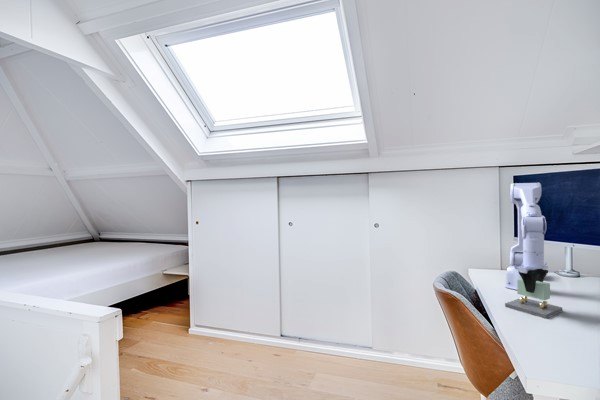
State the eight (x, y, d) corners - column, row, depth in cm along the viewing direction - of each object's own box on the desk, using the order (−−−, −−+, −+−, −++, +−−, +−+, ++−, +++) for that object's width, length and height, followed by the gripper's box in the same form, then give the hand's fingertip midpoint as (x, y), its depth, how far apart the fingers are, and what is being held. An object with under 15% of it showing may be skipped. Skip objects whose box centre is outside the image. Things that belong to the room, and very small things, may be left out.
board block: (517, 293, 108) (517, 279, 108) (523, 291, 110) (523, 278, 110) (544, 300, 101) (544, 285, 101) (549, 298, 103) (550, 283, 103)
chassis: (505, 306, 108) (505, 297, 108) (522, 300, 114) (522, 291, 114) (545, 318, 98) (545, 308, 98) (562, 310, 104) (562, 301, 104)
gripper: (536, 255, 98) (536, 297, 99) (557, 251, 106) (556, 290, 106) (512, 252, 105) (512, 292, 105) (533, 248, 112) (533, 285, 112)
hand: (533, 290), depth 106 cm, fingers closed on board block, 4 cm apart
